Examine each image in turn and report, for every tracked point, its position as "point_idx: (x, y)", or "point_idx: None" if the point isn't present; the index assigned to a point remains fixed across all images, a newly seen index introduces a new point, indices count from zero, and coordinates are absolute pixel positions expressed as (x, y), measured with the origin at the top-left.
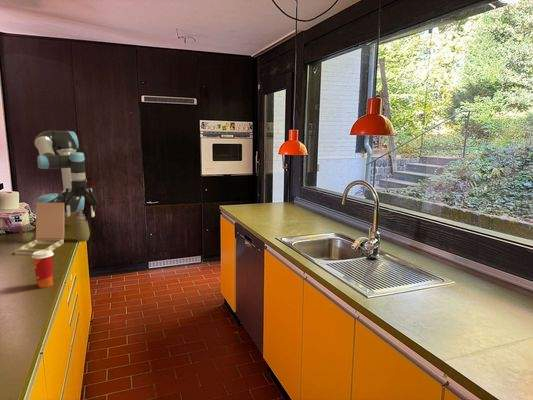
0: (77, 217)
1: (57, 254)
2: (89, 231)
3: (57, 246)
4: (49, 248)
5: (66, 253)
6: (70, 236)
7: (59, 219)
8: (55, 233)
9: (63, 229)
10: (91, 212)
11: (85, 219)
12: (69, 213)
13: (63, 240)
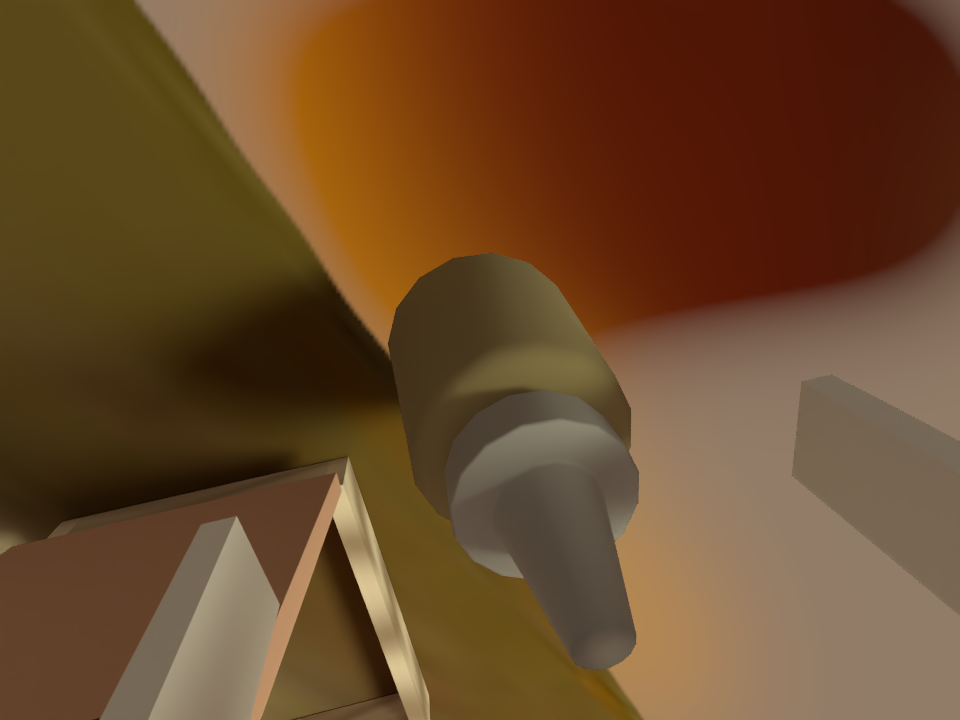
0: (512, 576)
1: (510, 671)
2: (562, 295)
3: (381, 563)
4: (414, 679)
5: (560, 642)
6: (165, 160)
7: None
8: None
9: (319, 551)
10: (894, 554)
11: (586, 396)
12: (234, 617)
13: (345, 478)
